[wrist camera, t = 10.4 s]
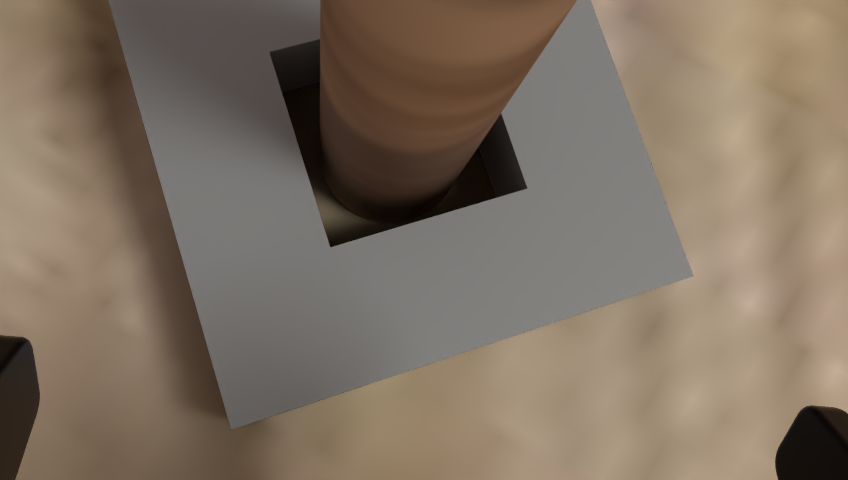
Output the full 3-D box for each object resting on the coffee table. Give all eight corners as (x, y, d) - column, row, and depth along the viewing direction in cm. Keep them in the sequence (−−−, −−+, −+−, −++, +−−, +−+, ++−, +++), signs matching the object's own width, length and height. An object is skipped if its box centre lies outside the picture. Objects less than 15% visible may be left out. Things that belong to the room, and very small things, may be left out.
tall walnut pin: (397, 251, 23) (518, 48, 9) (290, 160, 23) (247, -180, 9) (484, 150, 23) (716, -177, 10) (381, 62, 24) (467, -383, 10)
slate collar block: (243, 423, 21) (231, 430, 18) (125, 15, 23) (96, -40, 20) (646, 289, 23) (693, 275, 20) (513, -76, 25) (538, -138, 22)
